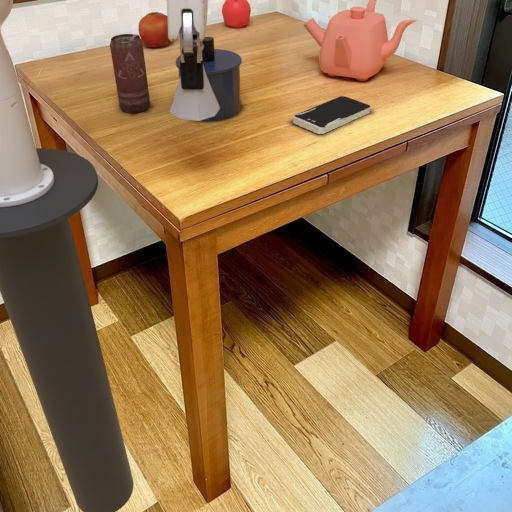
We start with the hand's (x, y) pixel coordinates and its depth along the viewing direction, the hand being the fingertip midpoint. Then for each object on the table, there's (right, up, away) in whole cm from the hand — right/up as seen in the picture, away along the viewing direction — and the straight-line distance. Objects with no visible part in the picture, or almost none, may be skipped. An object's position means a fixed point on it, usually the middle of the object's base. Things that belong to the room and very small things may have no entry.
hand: (193, 82), depth 87 cm
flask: (0, -4, +3) cm, 5 cm away
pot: (0, +4, +33) cm, 33 cm away
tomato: (-16, +28, +65) cm, 73 cm away
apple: (+4, +38, +77) cm, 86 cm away
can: (-15, +5, +34) cm, 37 cm away
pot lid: (0, +12, +27) cm, 29 cm away
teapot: (+32, +17, +49) cm, 60 cm away
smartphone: (+24, +1, +29) cm, 38 cm away
